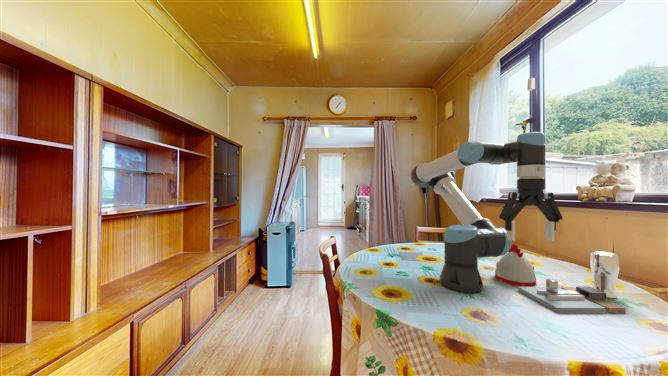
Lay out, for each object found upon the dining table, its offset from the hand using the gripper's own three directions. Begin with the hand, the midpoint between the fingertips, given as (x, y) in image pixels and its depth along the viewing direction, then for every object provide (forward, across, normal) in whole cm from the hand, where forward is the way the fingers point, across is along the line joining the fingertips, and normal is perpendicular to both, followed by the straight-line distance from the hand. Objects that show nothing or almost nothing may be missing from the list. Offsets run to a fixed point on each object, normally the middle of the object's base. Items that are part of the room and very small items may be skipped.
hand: (530, 240), depth 83 cm
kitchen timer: (+21, +9, +19) cm, 30 cm away
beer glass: (+21, +31, +4) cm, 38 cm away
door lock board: (+21, +12, 0) cm, 24 cm away
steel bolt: (+19, +11, 0) cm, 22 cm away
